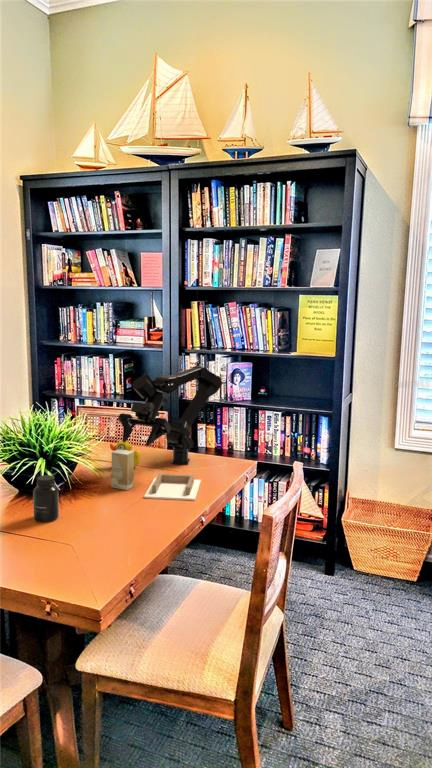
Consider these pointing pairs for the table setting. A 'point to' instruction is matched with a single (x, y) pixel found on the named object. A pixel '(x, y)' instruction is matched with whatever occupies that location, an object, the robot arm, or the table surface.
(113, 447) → the duckling
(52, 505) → the supplement bottle
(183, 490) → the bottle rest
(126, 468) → the skincare box
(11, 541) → the table surface
